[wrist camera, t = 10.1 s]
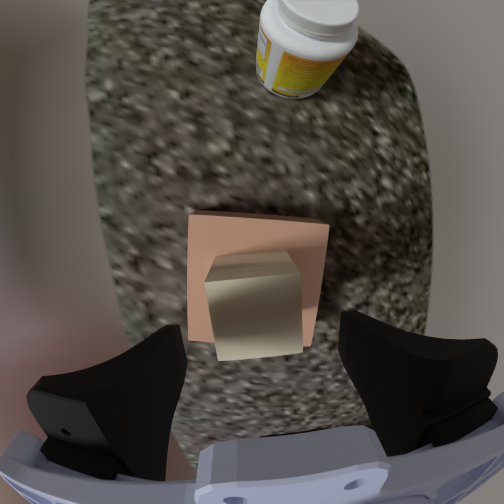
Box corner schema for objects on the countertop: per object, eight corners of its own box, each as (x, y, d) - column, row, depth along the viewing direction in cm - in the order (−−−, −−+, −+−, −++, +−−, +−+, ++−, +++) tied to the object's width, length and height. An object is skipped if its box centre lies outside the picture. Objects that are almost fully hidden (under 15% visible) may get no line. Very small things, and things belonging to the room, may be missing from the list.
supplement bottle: (337, 79, 18) (394, 19, 8) (287, 114, 19) (323, 56, 9) (291, 34, 17) (318, -43, 7) (240, 66, 18) (238, -14, 8)
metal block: (289, 312, 19) (302, 352, 14) (224, 319, 19) (218, 360, 14) (285, 249, 18) (300, 272, 13) (215, 256, 18) (204, 282, 13)
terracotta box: (300, 322, 23) (310, 346, 19) (196, 316, 23) (188, 340, 19) (314, 218, 21) (329, 224, 17) (199, 209, 21) (188, 214, 17)
